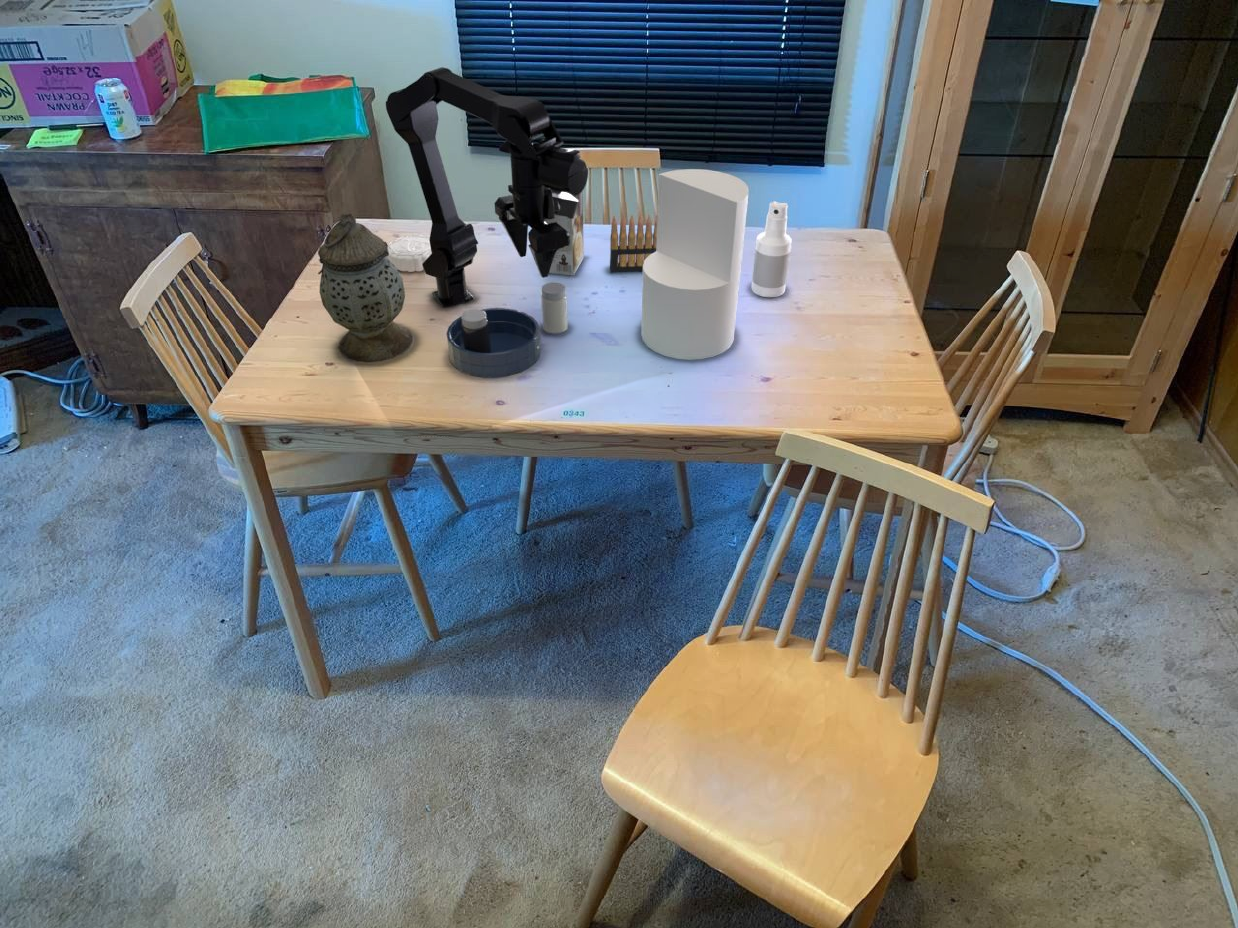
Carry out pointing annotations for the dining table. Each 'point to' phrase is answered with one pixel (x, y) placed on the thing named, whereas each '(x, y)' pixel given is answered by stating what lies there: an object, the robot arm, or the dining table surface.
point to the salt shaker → (554, 308)
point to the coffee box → (573, 254)
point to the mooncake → (409, 252)
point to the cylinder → (694, 264)
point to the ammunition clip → (631, 245)
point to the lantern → (363, 292)
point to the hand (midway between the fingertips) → (533, 266)
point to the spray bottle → (772, 254)
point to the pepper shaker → (476, 331)
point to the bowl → (498, 345)
